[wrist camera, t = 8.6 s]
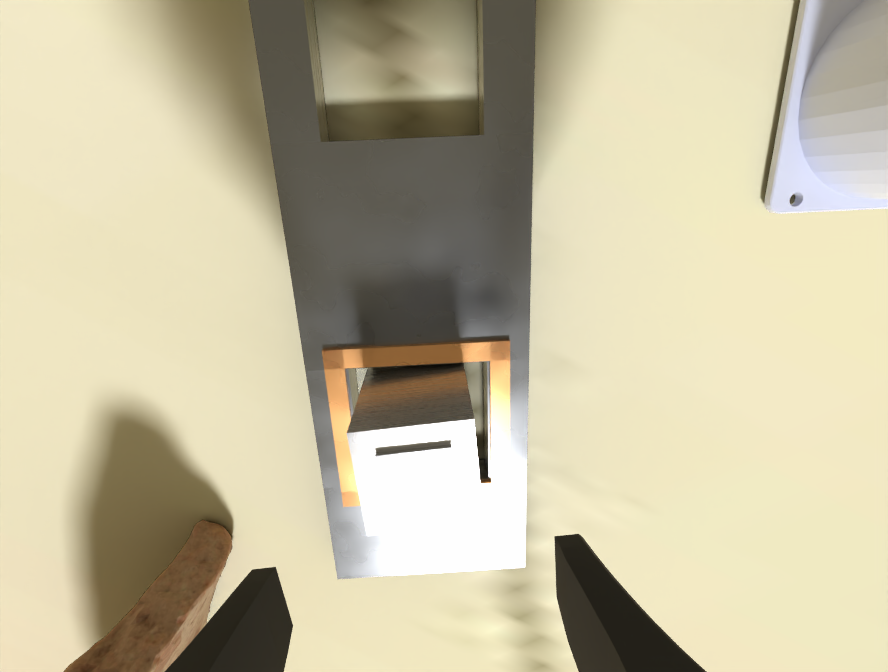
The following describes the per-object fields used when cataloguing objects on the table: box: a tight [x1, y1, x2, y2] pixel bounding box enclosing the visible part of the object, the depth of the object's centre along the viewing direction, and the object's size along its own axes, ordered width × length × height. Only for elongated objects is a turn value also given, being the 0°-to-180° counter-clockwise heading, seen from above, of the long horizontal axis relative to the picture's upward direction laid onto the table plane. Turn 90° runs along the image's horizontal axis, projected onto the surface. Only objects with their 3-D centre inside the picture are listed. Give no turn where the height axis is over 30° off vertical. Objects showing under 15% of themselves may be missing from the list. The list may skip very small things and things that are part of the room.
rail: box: [249, 0, 536, 579], centre depth 17 cm, size 9×30×2 cm, turn 3°
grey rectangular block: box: [347, 363, 484, 536], centre depth 17 cm, size 4×4×6 cm
